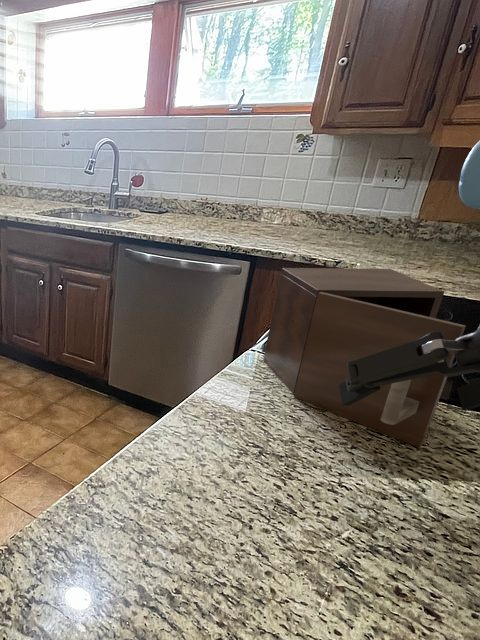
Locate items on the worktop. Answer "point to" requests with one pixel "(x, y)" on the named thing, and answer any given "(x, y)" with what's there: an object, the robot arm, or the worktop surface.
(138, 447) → the worktop surface
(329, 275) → the cupboard
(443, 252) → the worktop surface
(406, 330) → the door
